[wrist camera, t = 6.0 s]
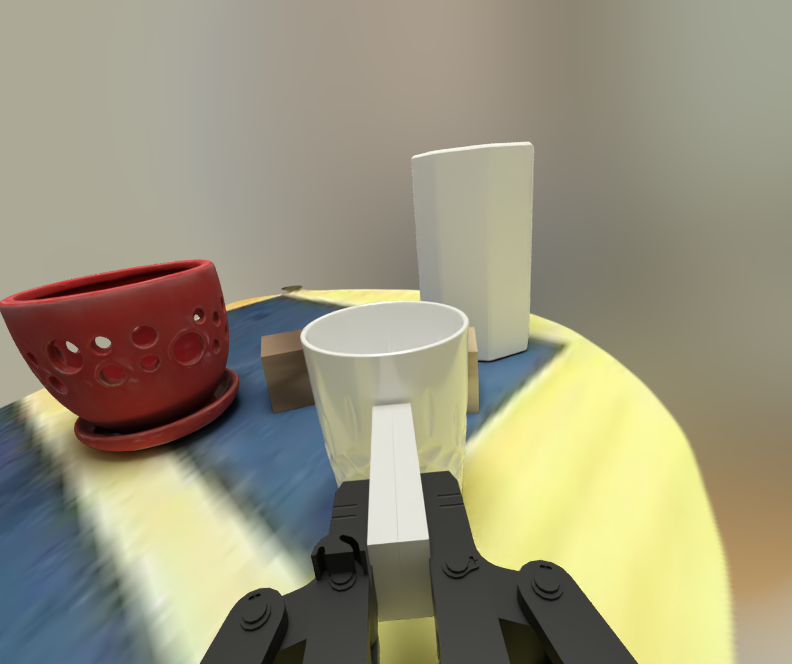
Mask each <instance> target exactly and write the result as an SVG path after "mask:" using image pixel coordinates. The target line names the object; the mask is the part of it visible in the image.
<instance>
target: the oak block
mask: <svg viewBox="0 0 792 664" xmlns="http://www.w3.org/2000/svg"><path fill="white" fill-rule="evenodd" d="M466 413H479V391H478V350H477V343H476V336H475V328H474V327H469V338H468V404H467V412H466Z"/></svg>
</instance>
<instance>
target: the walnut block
mask: <svg viewBox="0 0 792 664" xmlns="http://www.w3.org/2000/svg"><path fill="white" fill-rule="evenodd" d="M302 330H303V329H302ZM302 330H296V331H290V332H285V333H279V334H273V335H268V336H262V342H261V360H262V365H263V369H264V373H265V378H266V382H267V387H268V391H269V396H270V400H271V405H272V409H273V414H274V413H279V412H283V411H288V410H292V409H297V408H301V407H306V406H310V405H314V404H315V401H314V397H313V392H312V388H311V383H310V379H309V374H308V370H307V365H306V361H305V357H304V352H303V348H302V344H301V339H300V335H301V332H302Z"/></svg>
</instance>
